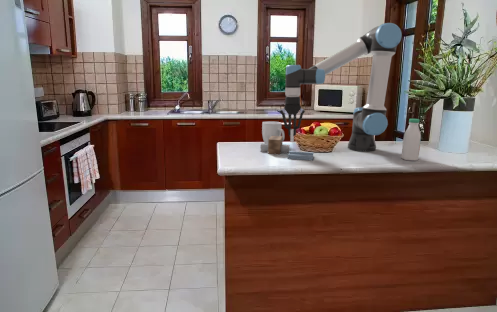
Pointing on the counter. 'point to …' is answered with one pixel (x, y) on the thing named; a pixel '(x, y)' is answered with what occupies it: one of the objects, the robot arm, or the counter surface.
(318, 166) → the counter surface
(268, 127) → the mug
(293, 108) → the robot arm
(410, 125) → the milk bottle
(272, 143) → the bearing block
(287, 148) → the shaft
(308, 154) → the cradle
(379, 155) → the counter surface
